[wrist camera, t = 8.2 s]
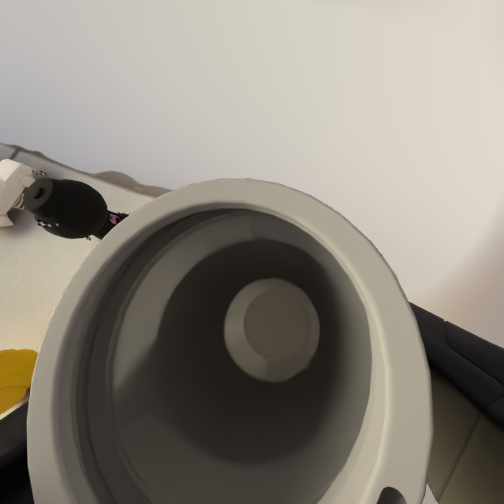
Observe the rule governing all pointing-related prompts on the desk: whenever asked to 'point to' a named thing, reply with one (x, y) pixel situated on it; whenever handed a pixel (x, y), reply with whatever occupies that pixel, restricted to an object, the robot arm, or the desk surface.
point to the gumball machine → (70, 208)
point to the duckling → (15, 375)
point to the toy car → (12, 187)
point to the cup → (231, 361)
